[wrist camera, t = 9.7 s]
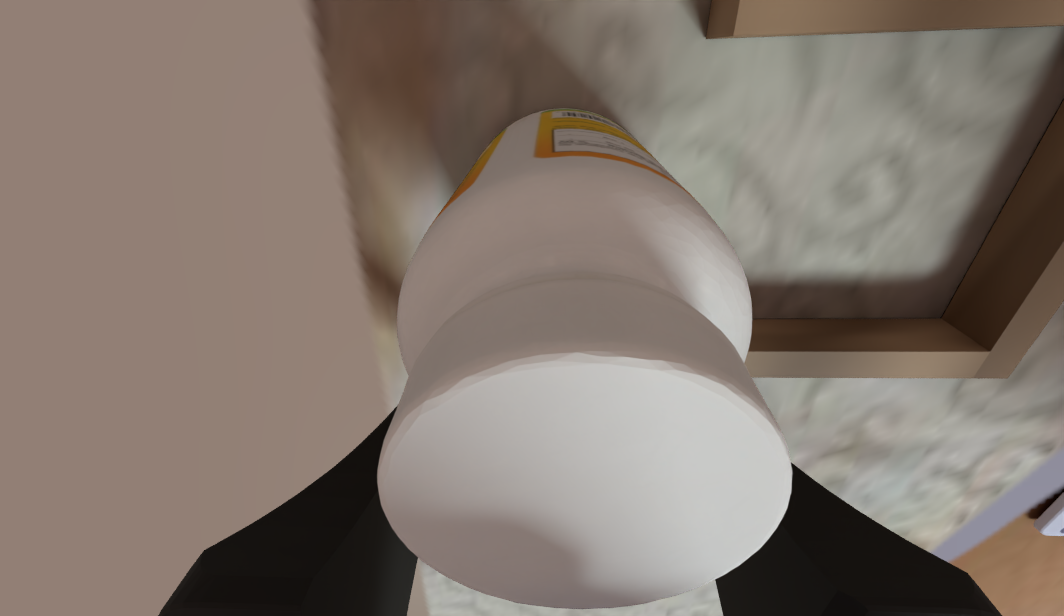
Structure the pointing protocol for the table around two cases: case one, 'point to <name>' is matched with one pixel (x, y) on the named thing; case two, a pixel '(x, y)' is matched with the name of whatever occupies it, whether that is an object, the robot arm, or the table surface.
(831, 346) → the wooden frame
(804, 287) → the table surface
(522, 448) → the supplement bottle
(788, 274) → the table surface
